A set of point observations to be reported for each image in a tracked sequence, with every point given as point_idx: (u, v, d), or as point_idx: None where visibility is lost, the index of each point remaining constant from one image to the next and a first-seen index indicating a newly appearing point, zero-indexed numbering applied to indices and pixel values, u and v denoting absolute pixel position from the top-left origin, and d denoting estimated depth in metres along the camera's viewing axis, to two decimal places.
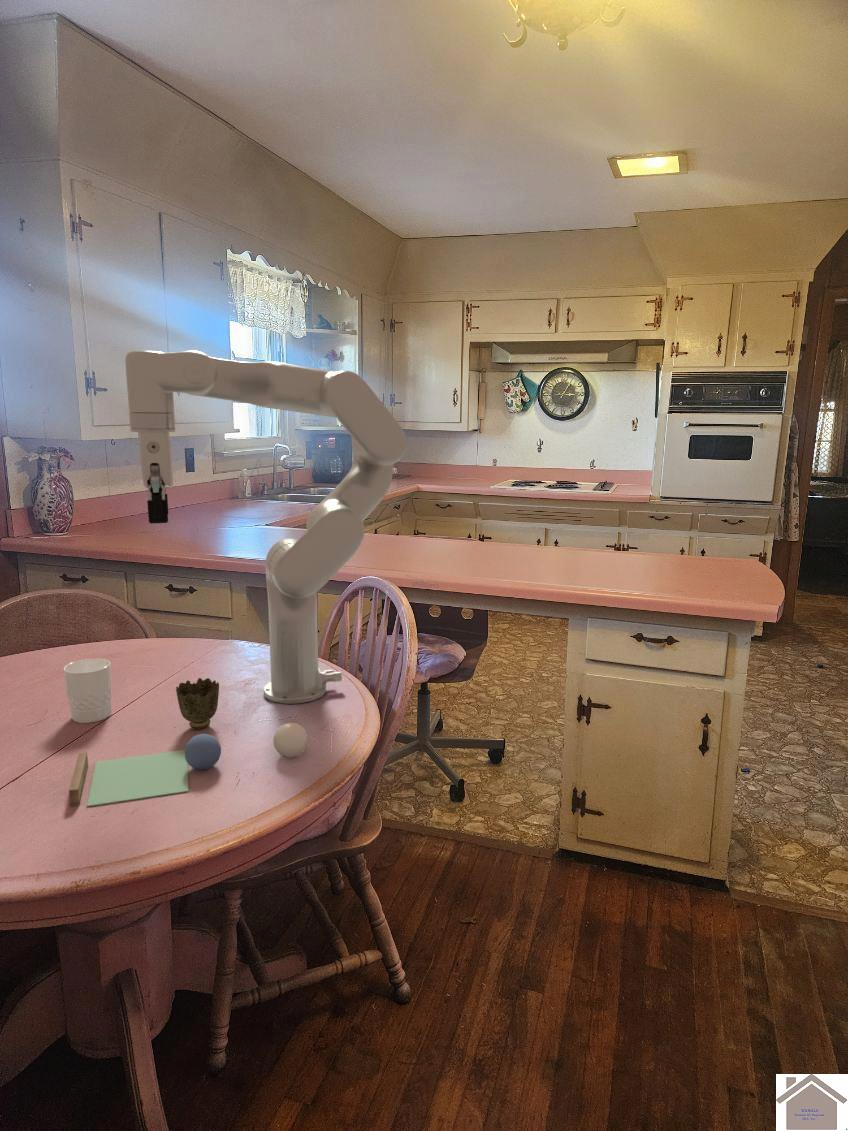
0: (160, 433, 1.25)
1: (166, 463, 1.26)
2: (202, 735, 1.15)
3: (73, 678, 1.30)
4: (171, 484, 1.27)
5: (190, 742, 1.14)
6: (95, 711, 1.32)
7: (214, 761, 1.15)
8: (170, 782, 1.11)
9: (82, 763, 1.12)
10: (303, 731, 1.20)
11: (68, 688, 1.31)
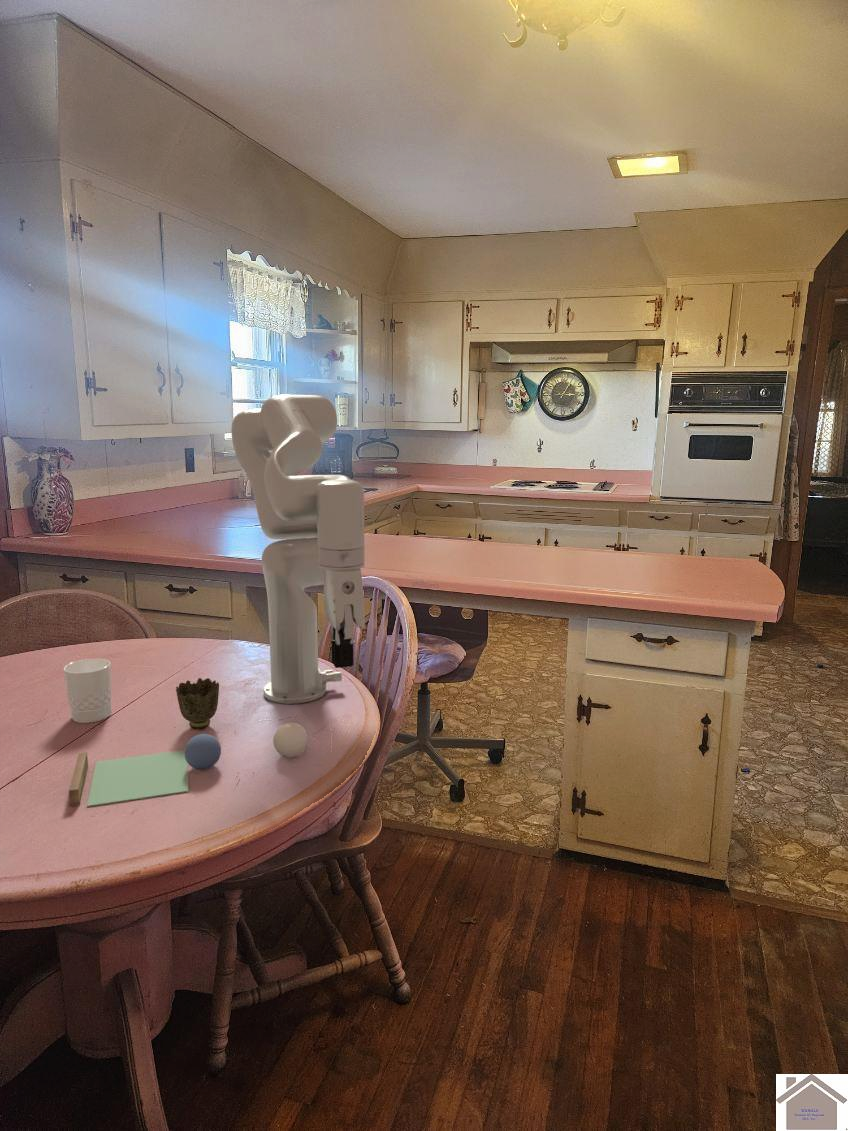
0: (355, 572, 1.13)
1: (360, 604, 1.14)
2: (202, 735, 1.15)
3: (73, 678, 1.30)
4: (363, 625, 1.15)
5: (190, 742, 1.14)
6: (95, 711, 1.32)
7: (214, 761, 1.15)
8: (170, 782, 1.11)
9: (82, 763, 1.12)
10: (303, 731, 1.20)
11: (68, 688, 1.31)
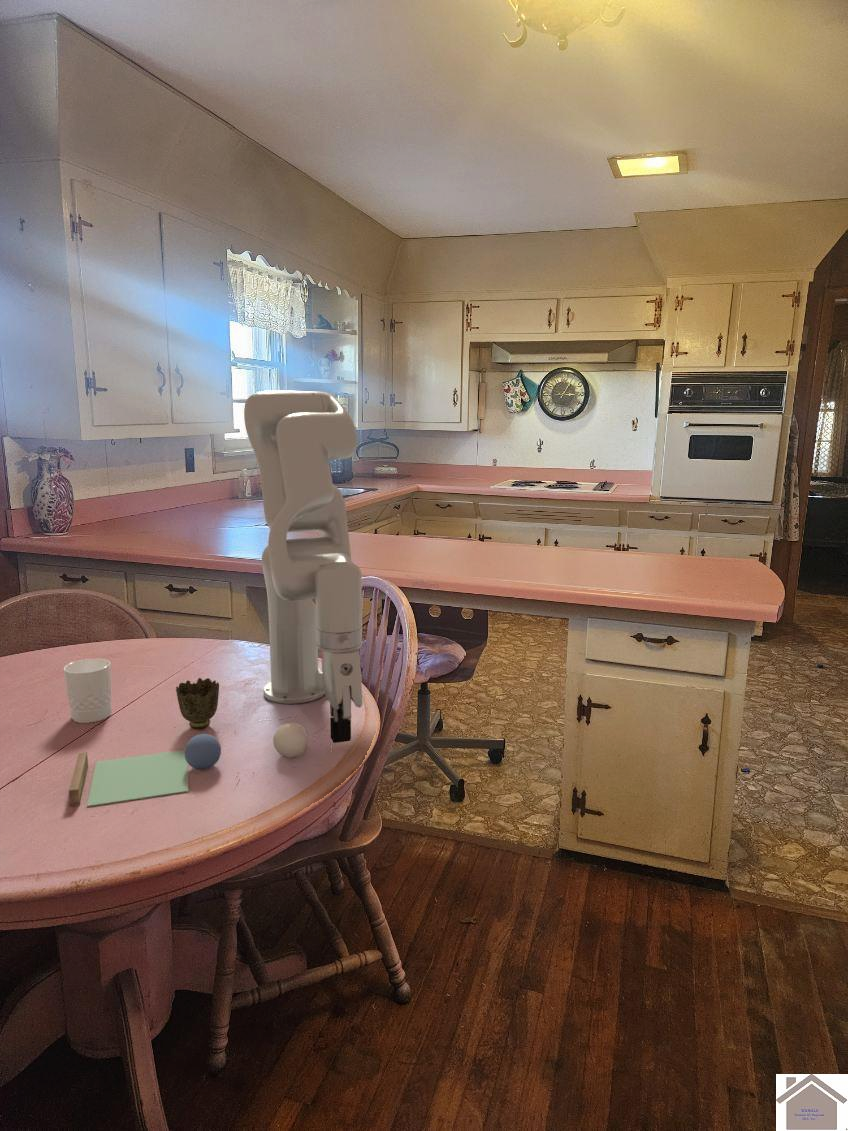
0: (353, 654, 1.16)
1: (358, 684, 1.17)
2: (202, 735, 1.15)
3: (73, 678, 1.30)
4: (361, 704, 1.18)
5: (190, 742, 1.14)
6: (95, 711, 1.32)
7: (214, 761, 1.15)
8: (170, 782, 1.11)
9: (82, 763, 1.12)
10: (303, 731, 1.20)
11: (68, 688, 1.31)
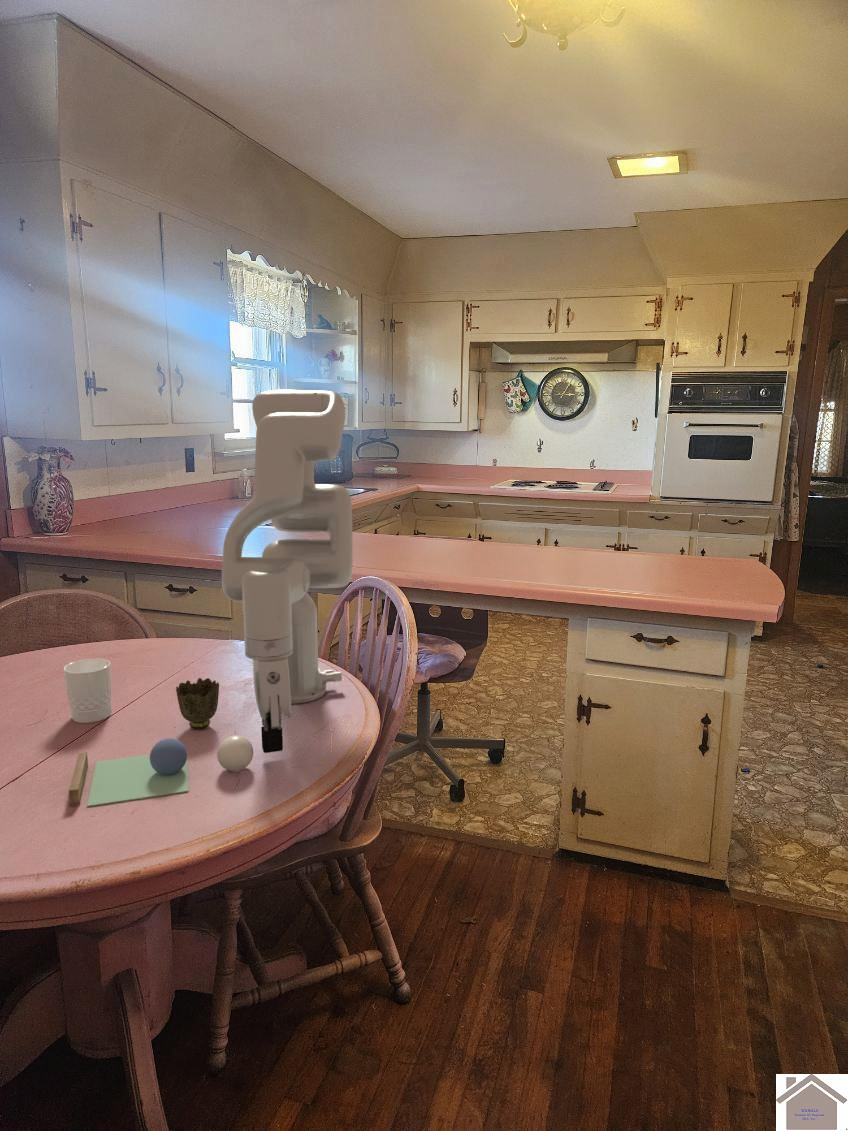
0: (280, 662, 1.12)
1: (286, 693, 1.13)
2: None
3: (73, 678, 1.30)
4: (290, 714, 1.15)
5: None
6: (95, 711, 1.32)
7: (171, 751, 1.12)
8: (170, 782, 1.11)
9: (82, 763, 1.12)
10: (223, 767, 1.14)
11: (68, 688, 1.31)
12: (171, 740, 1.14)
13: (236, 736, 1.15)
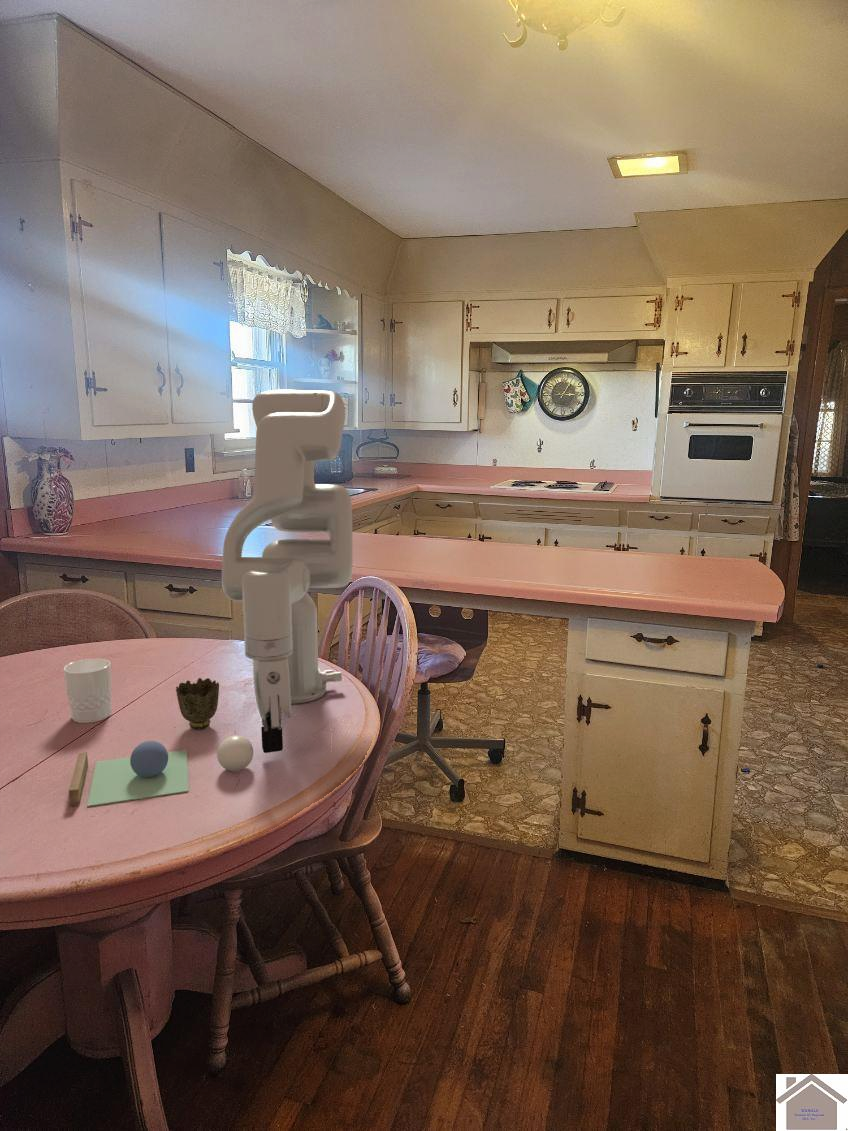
0: (280, 662, 1.12)
1: (286, 693, 1.13)
2: None
3: (73, 678, 1.30)
4: (290, 714, 1.15)
5: None
6: (95, 711, 1.32)
7: (139, 757, 1.11)
8: (170, 782, 1.11)
9: (82, 763, 1.12)
10: (223, 767, 1.14)
11: (68, 688, 1.31)
12: (134, 750, 1.12)
13: (236, 736, 1.15)
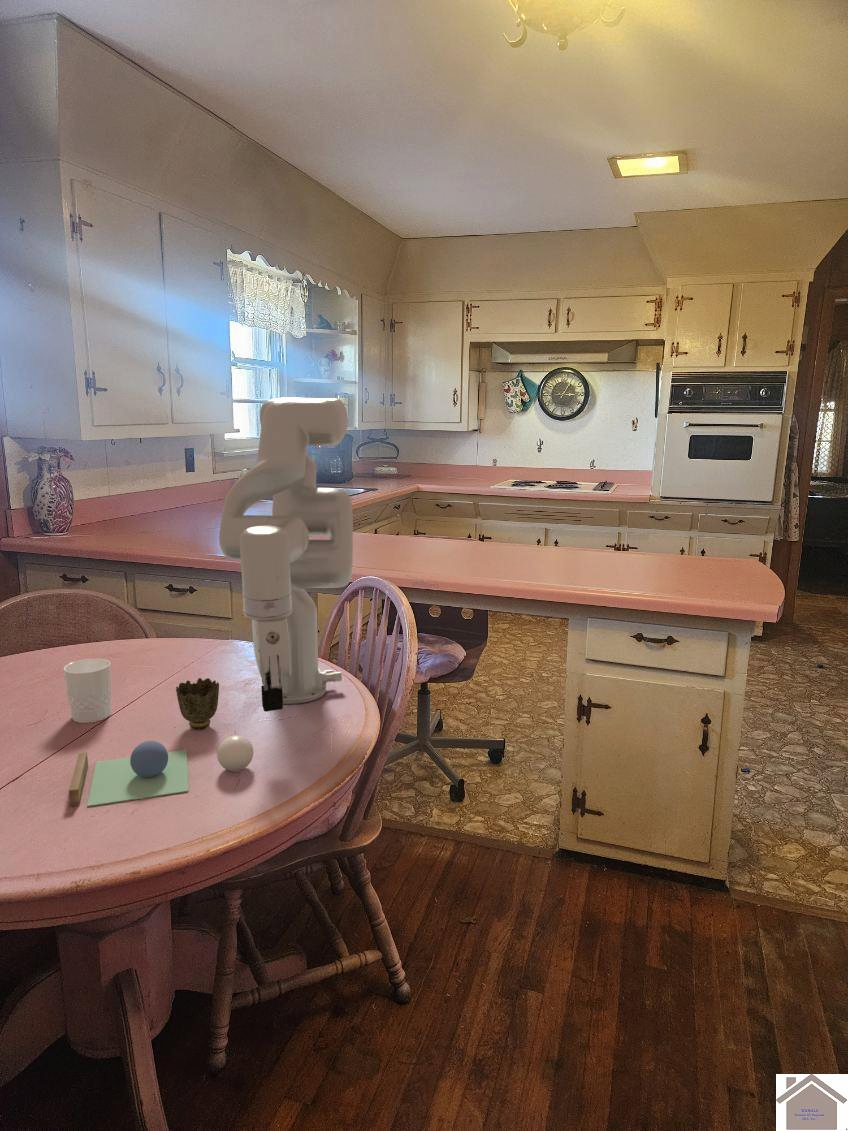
0: (280, 622, 1.11)
1: (286, 653, 1.13)
2: None
3: (73, 678, 1.30)
4: (290, 673, 1.14)
5: None
6: (95, 711, 1.32)
7: (139, 757, 1.11)
8: (170, 782, 1.11)
9: (82, 763, 1.12)
10: (223, 767, 1.14)
11: (68, 688, 1.31)
12: (134, 750, 1.12)
13: (236, 736, 1.15)
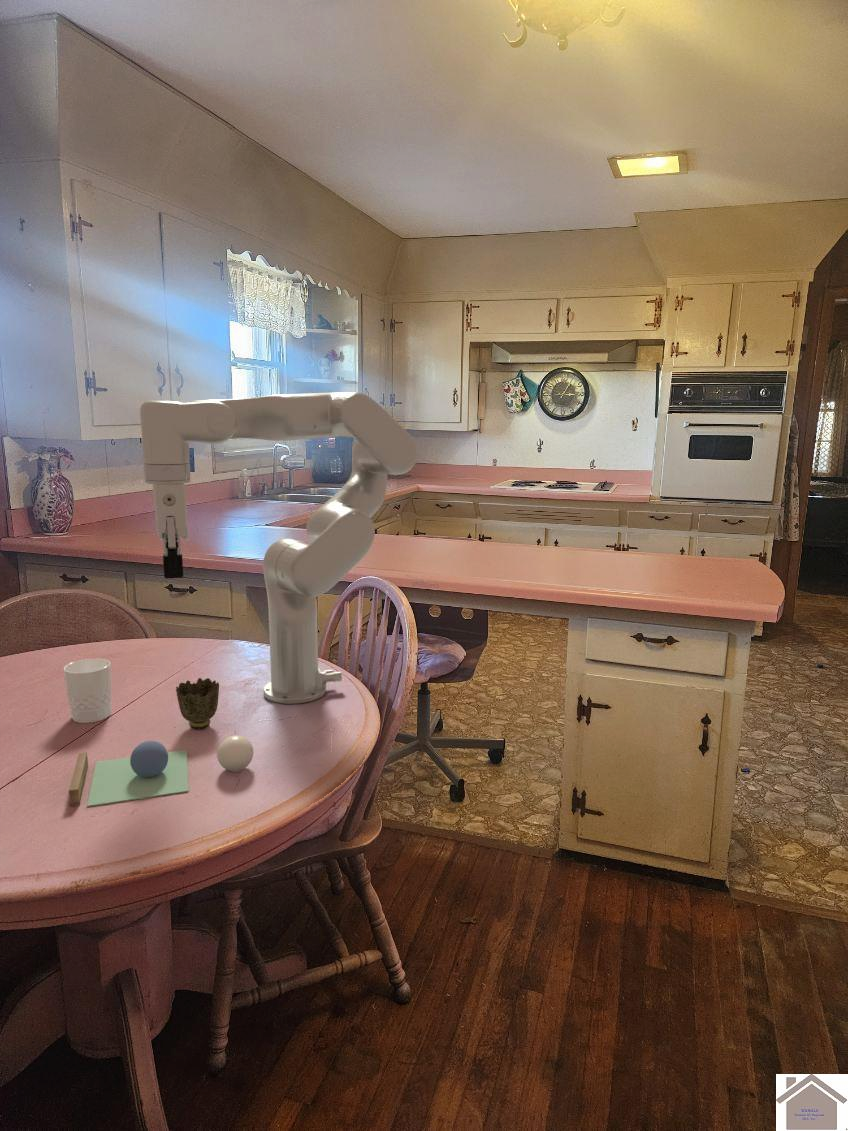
0: (176, 485, 1.22)
1: (182, 516, 1.23)
2: None
3: (73, 678, 1.30)
4: (187, 537, 1.24)
5: None
6: (95, 711, 1.32)
7: (139, 757, 1.11)
8: (170, 782, 1.11)
9: (82, 763, 1.12)
10: (223, 767, 1.14)
11: (68, 688, 1.31)
12: (134, 750, 1.12)
13: (236, 736, 1.15)
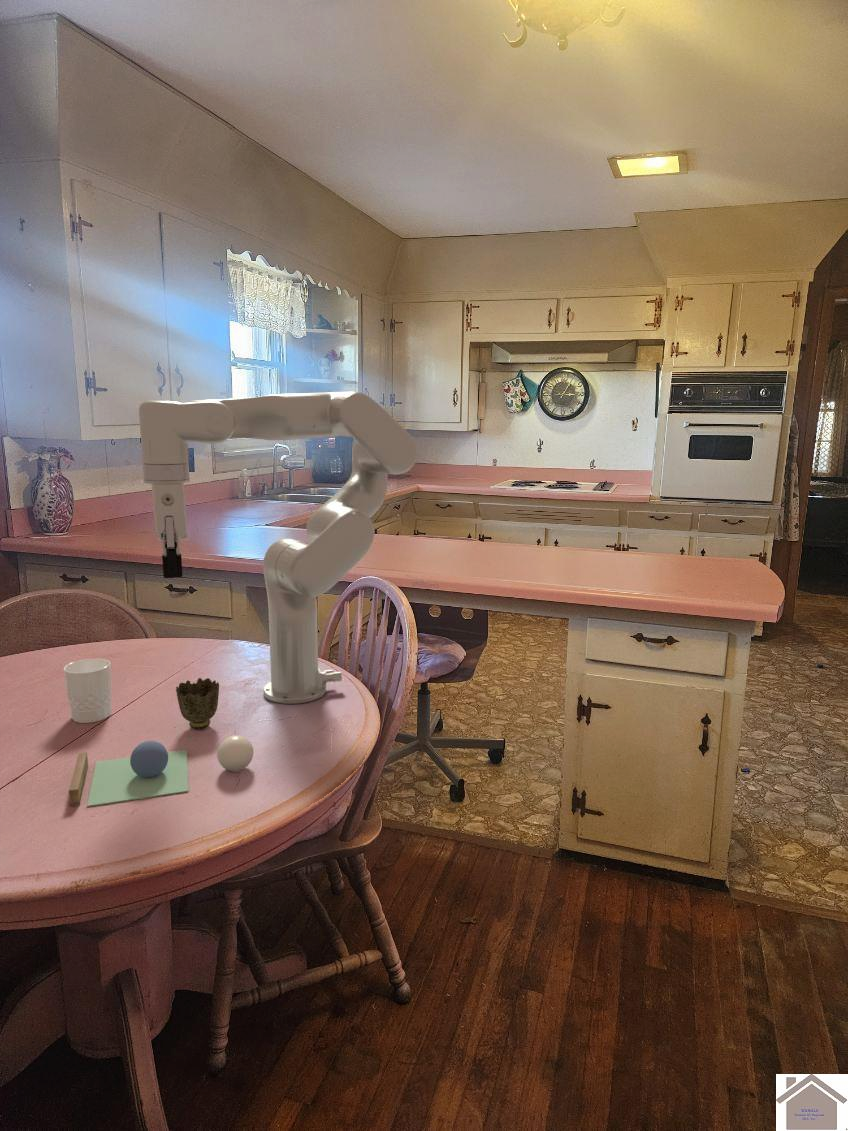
0: (174, 485, 1.22)
1: (181, 515, 1.23)
2: None
3: (73, 678, 1.30)
4: (186, 536, 1.24)
5: None
6: (95, 711, 1.32)
7: (139, 757, 1.11)
8: (170, 782, 1.11)
9: (82, 763, 1.12)
10: (223, 767, 1.14)
11: (68, 688, 1.31)
12: (134, 750, 1.12)
13: (236, 736, 1.15)
